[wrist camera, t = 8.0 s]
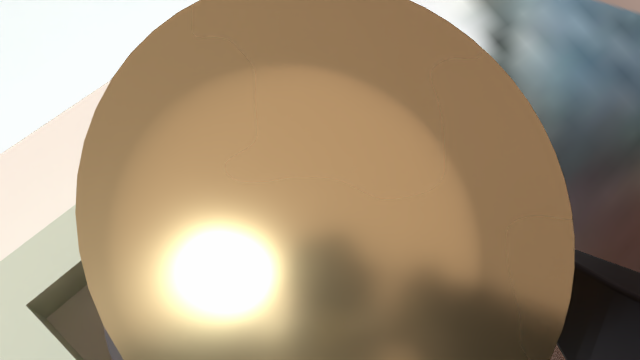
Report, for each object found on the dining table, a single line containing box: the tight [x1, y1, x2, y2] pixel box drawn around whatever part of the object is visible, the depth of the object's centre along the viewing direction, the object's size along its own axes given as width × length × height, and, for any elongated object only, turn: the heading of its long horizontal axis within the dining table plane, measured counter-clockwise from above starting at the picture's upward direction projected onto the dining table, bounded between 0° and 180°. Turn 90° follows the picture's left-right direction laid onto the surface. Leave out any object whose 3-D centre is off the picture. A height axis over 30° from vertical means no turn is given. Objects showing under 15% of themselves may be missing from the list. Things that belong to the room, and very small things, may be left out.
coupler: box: [75, 0, 575, 360], centre depth 12 cm, size 6×6×13 cm
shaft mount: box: [0, 80, 112, 360], centre depth 16 cm, size 16×23×4 cm
